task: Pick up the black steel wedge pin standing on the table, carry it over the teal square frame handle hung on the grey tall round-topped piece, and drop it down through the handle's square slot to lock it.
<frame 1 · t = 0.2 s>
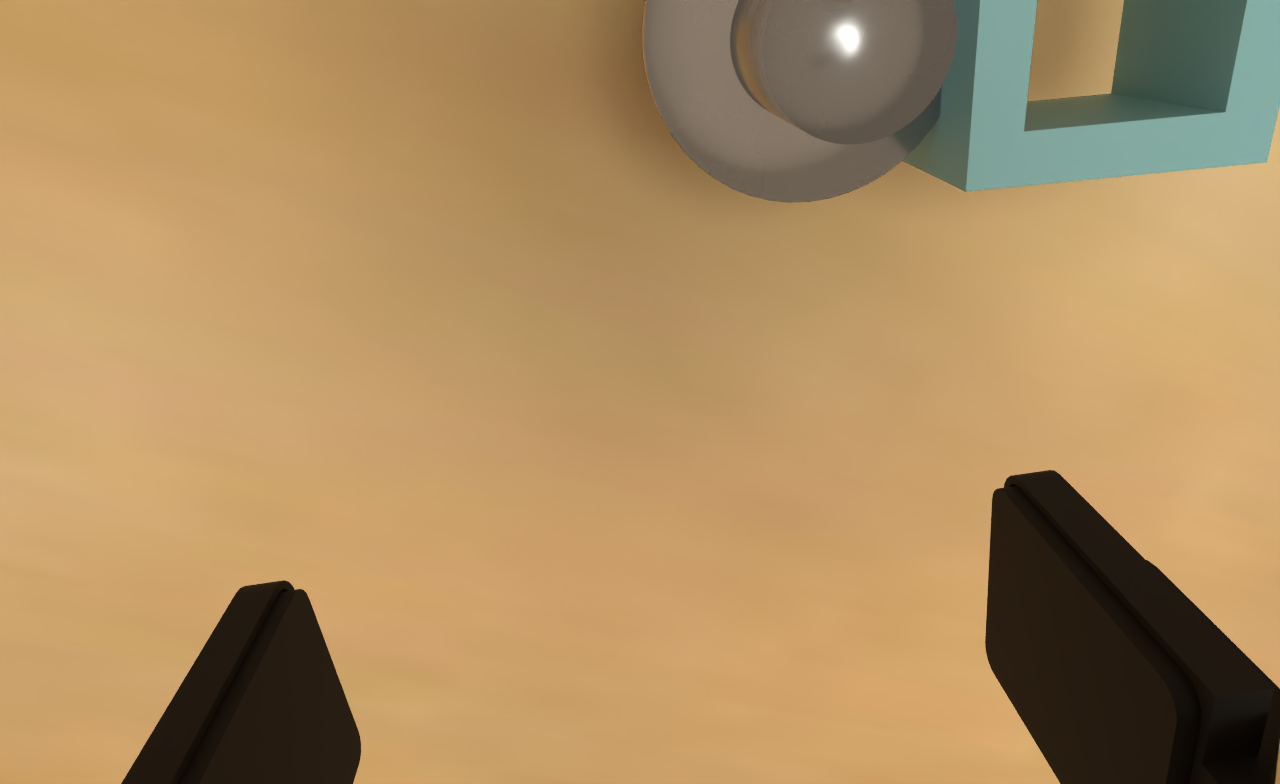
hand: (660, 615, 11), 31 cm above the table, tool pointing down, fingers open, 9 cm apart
grey tall round-topped piece: (783, 34, 29), on the table
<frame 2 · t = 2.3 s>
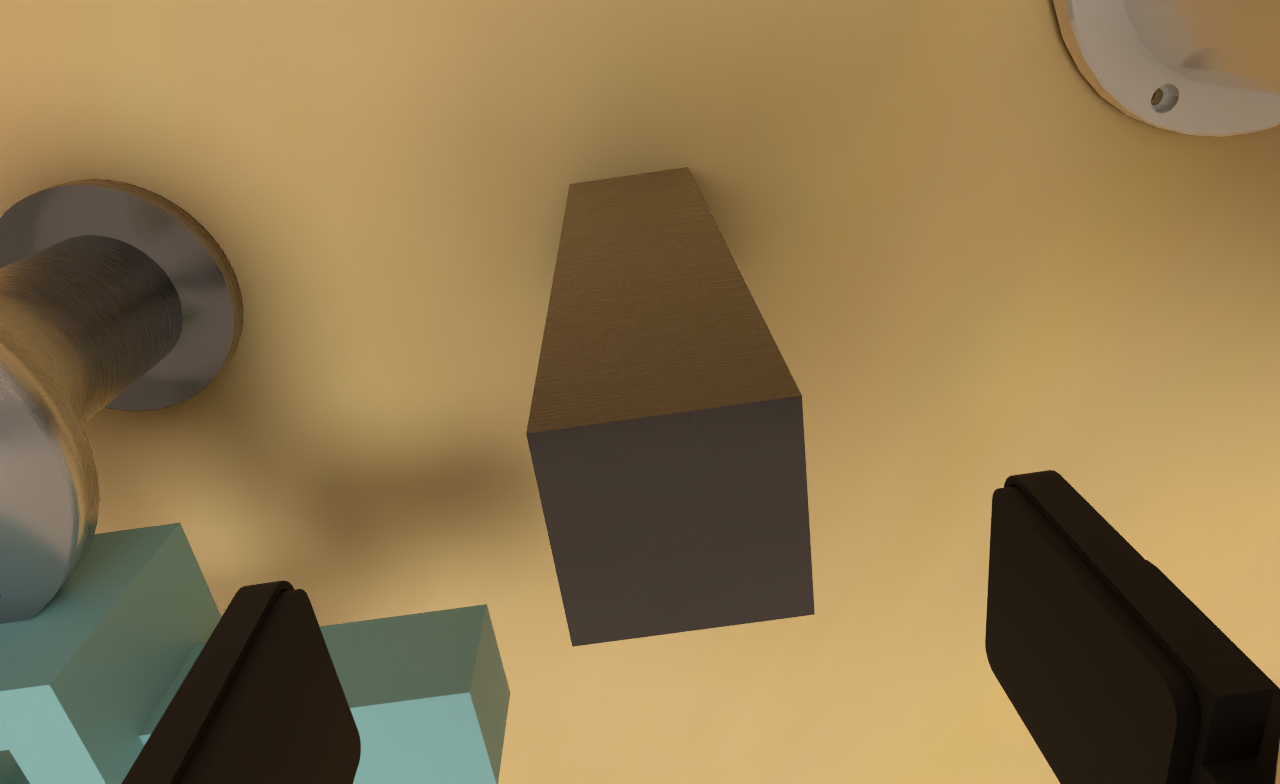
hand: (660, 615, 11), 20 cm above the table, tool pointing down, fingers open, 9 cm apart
teal square frame handle: (169, 734, 22), point 12 cm above the table
steel wedge pin: (636, 233, 29), on the table
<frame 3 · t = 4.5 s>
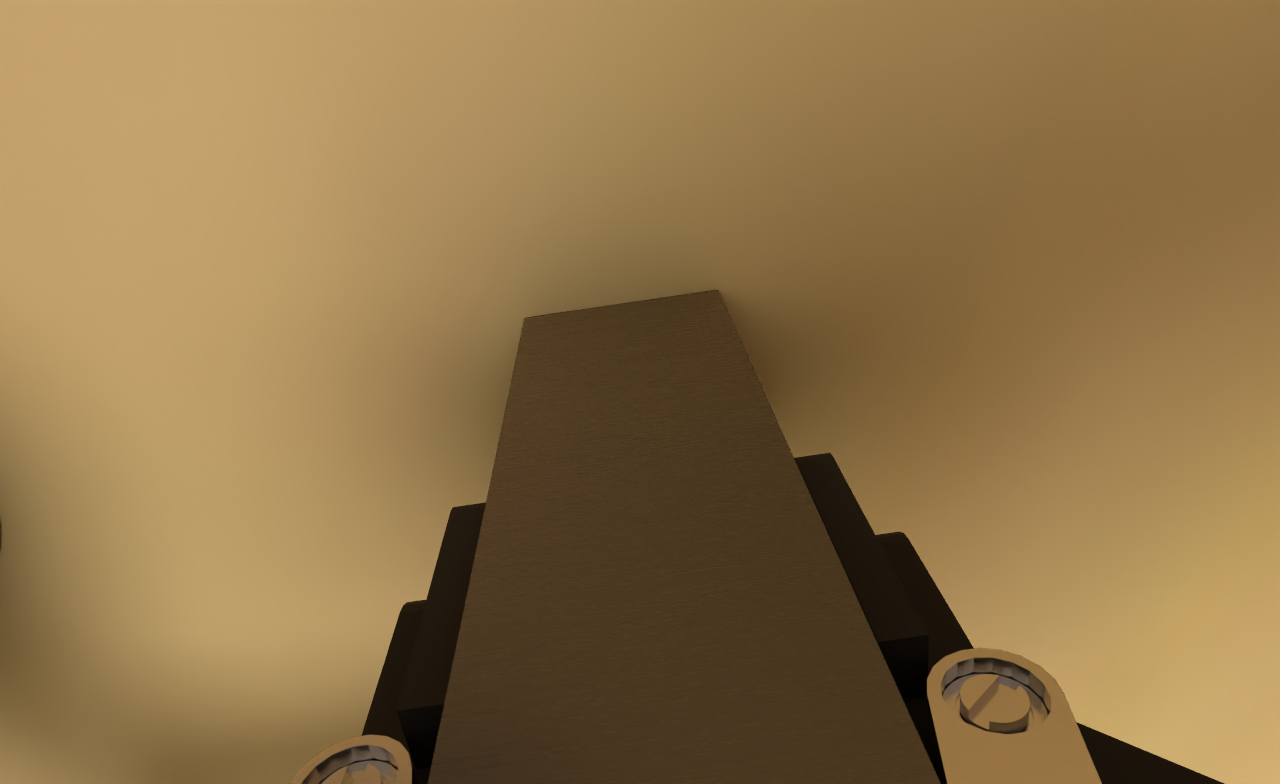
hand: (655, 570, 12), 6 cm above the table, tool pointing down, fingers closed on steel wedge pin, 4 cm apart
steel wedge pin: (634, 391, 18), on the table, touching gripper
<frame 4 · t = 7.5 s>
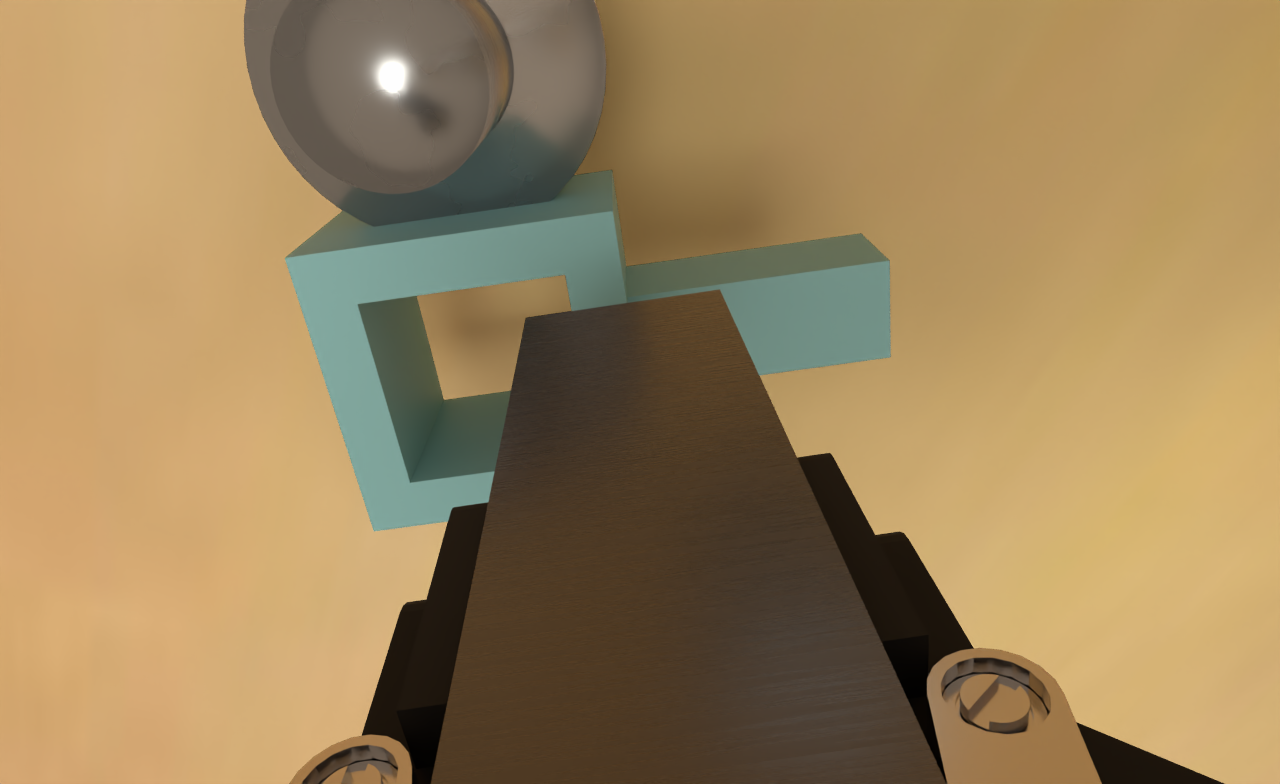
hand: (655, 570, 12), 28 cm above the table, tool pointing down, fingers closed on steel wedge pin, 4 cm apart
teal square frame handle: (615, 329, 28), point 12 cm above the table
steel wedge pin: (636, 391, 18), point 22 cm above the table, touching gripper
grey tall round-topped piece: (449, 57, 27), on the table
when the fingers open (16 cm above the table, at t = 10.7 s): steel wedge pin drops 10 cm, on the table.
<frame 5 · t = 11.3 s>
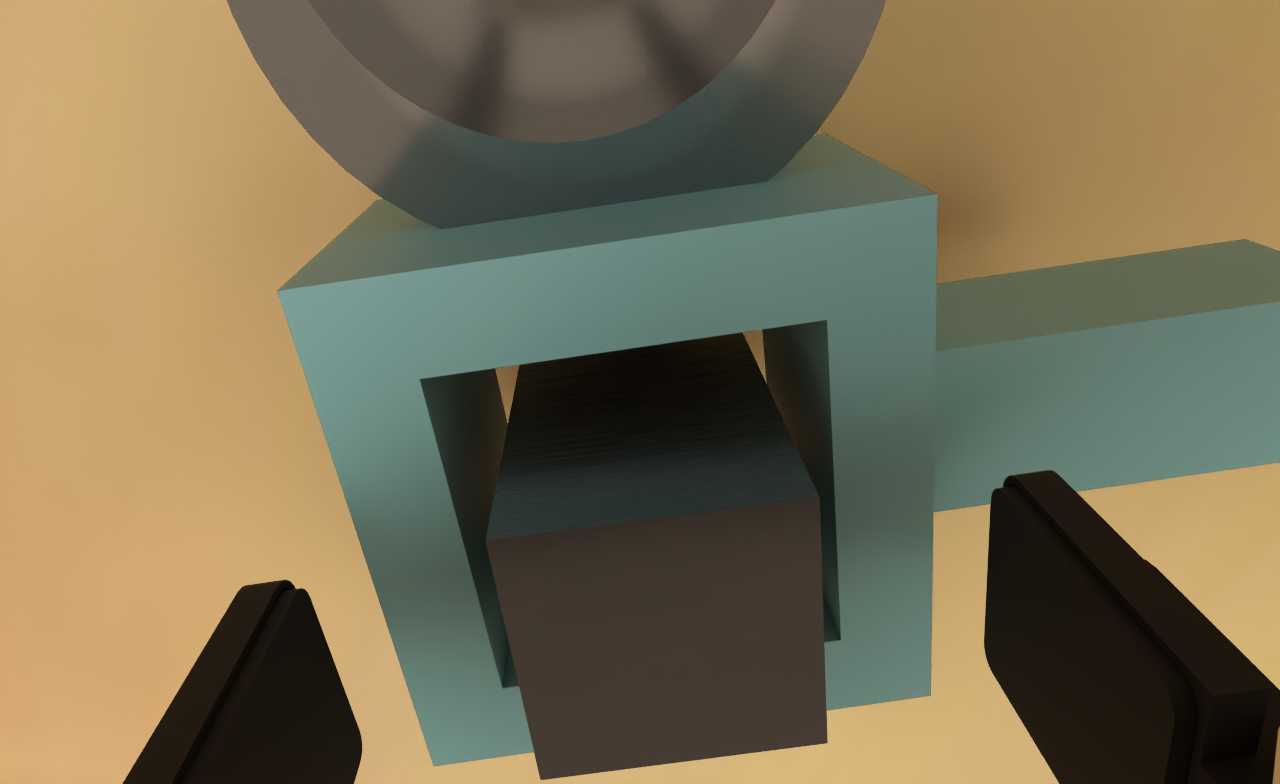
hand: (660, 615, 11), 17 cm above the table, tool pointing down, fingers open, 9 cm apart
teal square frame handle: (845, 405, 16), point 12 cm above the table
steel wedge pin: (621, 262, 27), on the table
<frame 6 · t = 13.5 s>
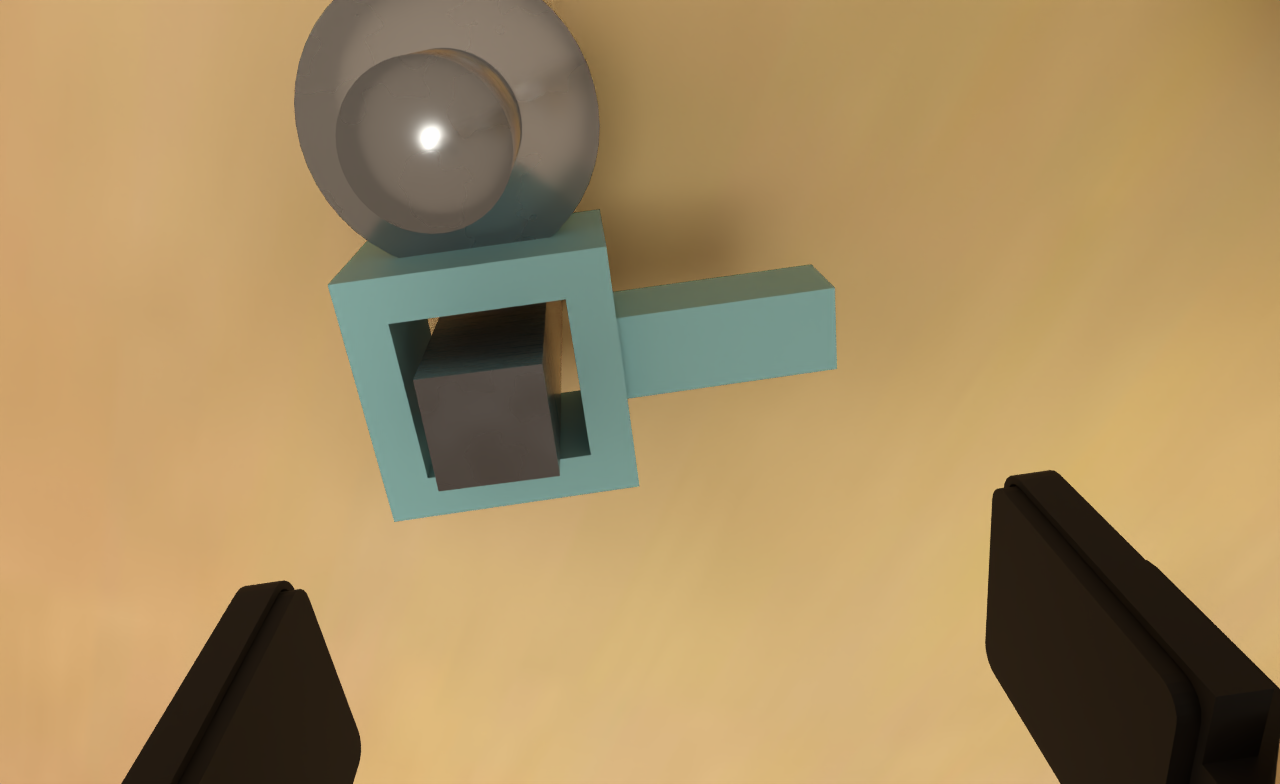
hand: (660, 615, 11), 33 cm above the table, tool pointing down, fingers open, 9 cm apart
teal square frame handle: (603, 346, 33), point 12 cm above the table
steel wedge pin: (517, 274, 43), on the table
grey tall round-topped piece: (461, 114, 32), on the table
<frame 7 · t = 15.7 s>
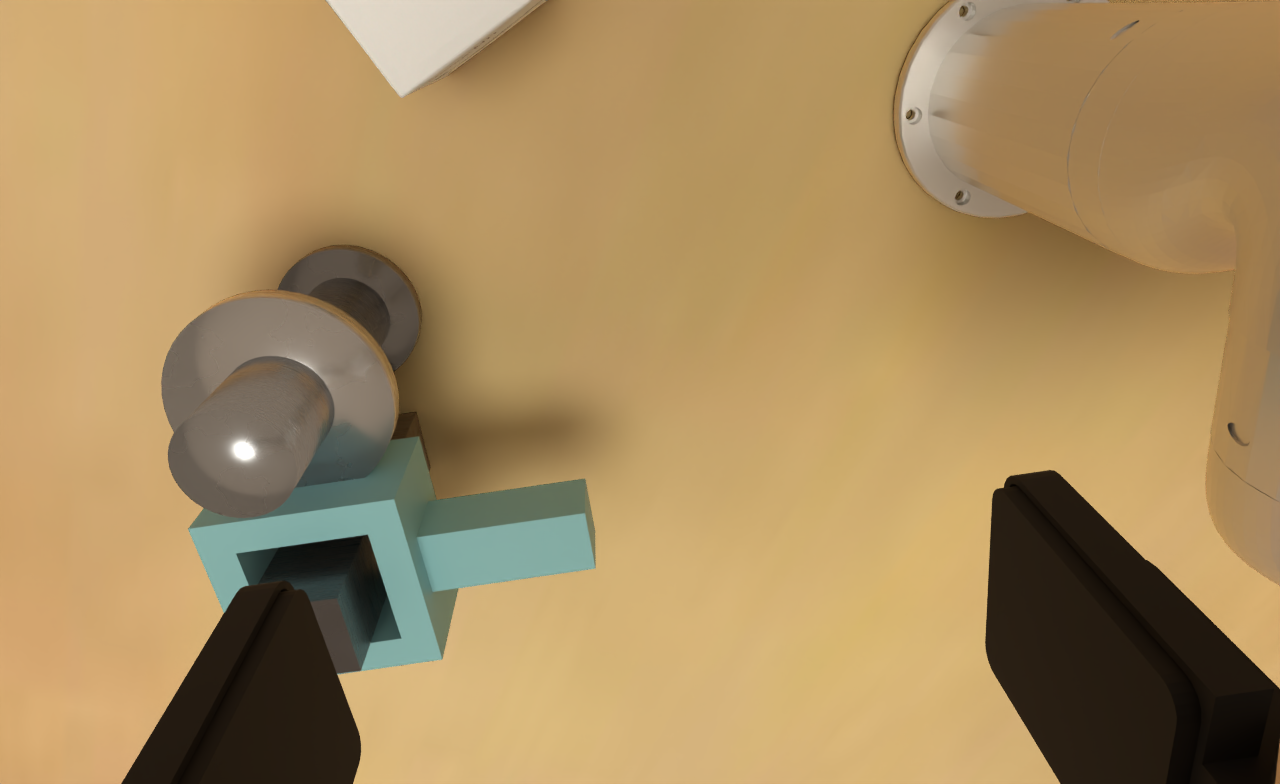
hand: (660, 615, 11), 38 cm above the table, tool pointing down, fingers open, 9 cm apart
teal square frame handle: (418, 547, 42), point 12 cm above the table
steel wedge pin: (391, 444, 53), on the table
grey tall round-topped piece: (304, 373, 41), on the table
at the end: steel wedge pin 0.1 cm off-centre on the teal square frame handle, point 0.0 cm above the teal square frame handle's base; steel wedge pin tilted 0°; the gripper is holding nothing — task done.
